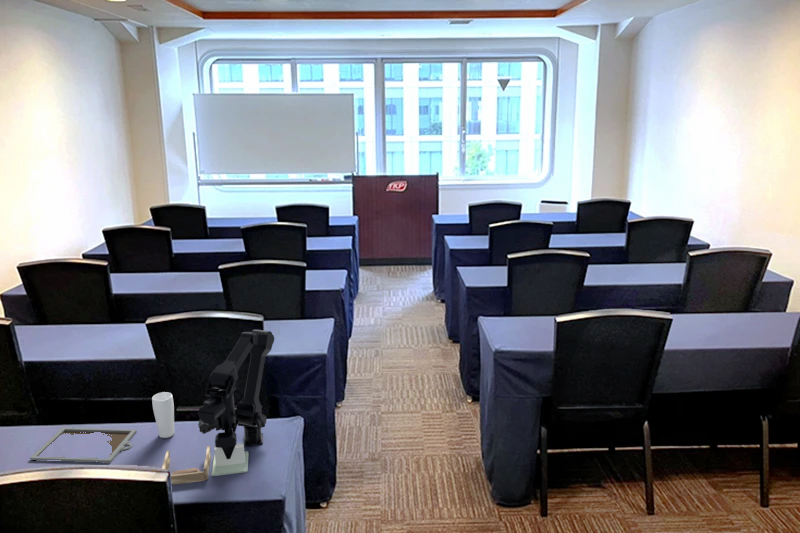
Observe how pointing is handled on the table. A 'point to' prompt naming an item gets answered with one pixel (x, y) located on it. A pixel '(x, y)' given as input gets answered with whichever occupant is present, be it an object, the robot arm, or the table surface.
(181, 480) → the rack
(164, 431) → the drinking glass
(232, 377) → the robot arm
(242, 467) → the mat
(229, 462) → the white block
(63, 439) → the table surface
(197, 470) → the offcut stack
